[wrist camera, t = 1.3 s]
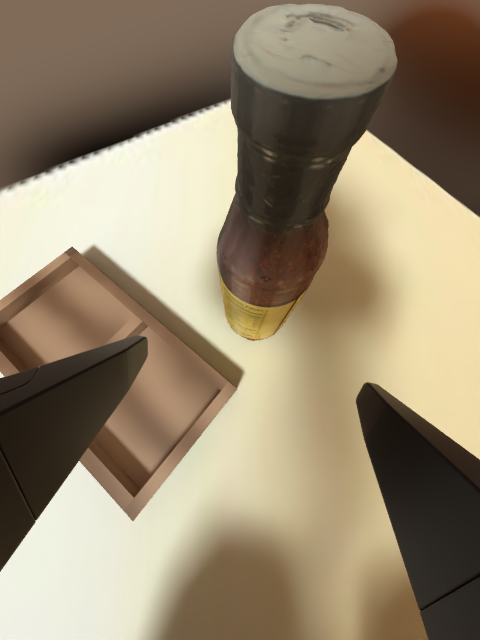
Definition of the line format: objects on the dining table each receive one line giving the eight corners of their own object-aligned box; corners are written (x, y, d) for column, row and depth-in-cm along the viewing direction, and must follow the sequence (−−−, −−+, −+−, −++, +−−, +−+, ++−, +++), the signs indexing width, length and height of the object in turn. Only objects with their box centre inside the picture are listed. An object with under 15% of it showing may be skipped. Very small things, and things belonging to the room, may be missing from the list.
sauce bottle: (260, 280, 26) (342, -41, 7) (293, 323, 24) (521, 58, 5) (212, 309, 24) (145, 2, 5) (244, 356, 23) (309, 158, 4)
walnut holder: (143, 508, 18) (132, 521, 16) (-16, 334, 22) (-38, 328, 20) (236, 389, 21) (237, 389, 20) (83, 257, 26) (72, 246, 24)
